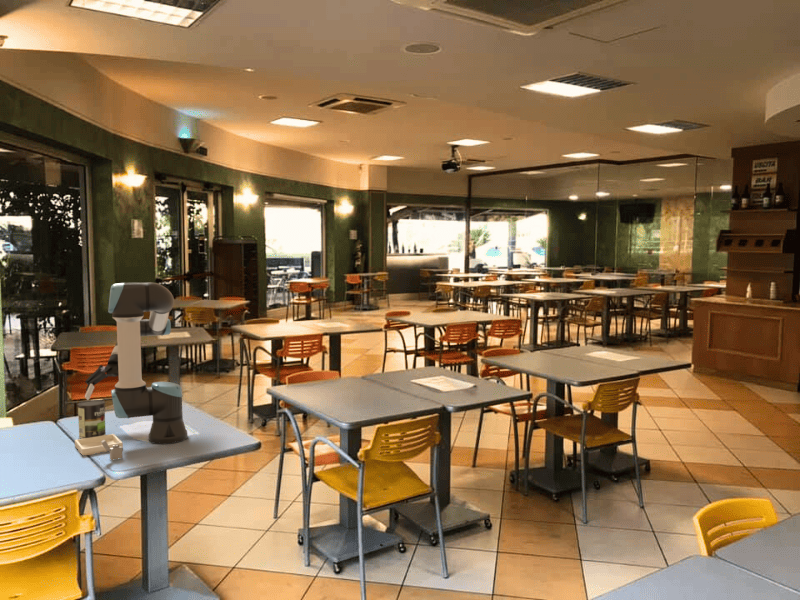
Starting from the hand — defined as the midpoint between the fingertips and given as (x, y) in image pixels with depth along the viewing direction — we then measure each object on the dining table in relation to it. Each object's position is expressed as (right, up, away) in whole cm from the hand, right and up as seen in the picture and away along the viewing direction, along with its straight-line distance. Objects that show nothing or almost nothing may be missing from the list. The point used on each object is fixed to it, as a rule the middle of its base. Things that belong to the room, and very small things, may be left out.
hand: (101, 398), depth 288 cm
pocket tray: (+9, -16, -23) cm, 29 cm away
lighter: (+21, -17, -37) cm, 46 cm away
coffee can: (0, -15, -7) cm, 16 cm away
